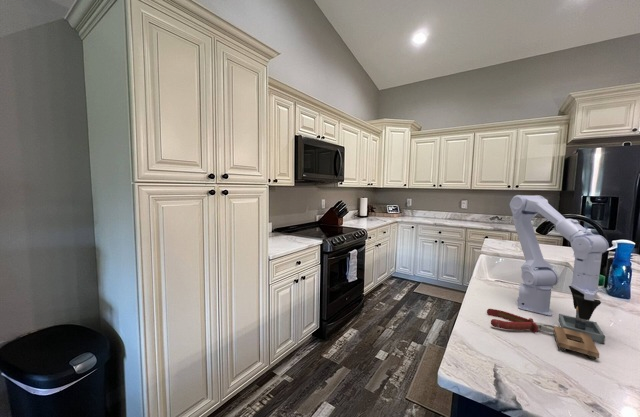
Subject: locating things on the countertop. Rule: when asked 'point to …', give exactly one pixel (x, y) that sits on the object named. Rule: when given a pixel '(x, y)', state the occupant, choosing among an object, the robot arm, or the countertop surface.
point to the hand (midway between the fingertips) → (581, 314)
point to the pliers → (517, 322)
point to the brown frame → (584, 347)
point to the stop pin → (579, 321)
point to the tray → (590, 329)
